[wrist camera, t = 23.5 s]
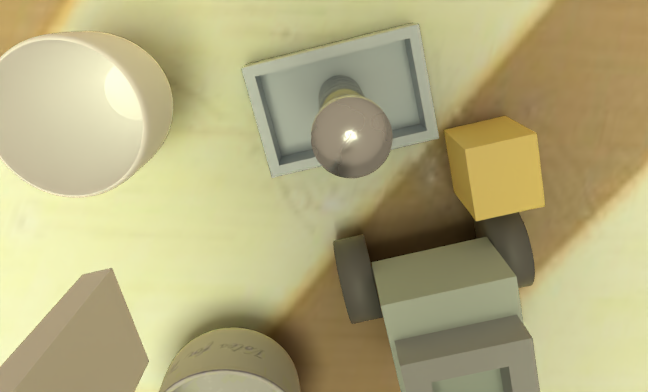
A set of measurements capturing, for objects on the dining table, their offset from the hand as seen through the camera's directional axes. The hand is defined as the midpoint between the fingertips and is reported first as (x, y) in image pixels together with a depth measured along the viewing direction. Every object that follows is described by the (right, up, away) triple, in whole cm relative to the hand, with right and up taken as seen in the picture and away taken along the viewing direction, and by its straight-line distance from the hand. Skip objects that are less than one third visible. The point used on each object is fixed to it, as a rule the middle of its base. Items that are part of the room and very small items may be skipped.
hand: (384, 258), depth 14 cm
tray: (0, +8, +25) cm, 27 cm away
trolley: (+7, -6, +30) cm, 31 cm away
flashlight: (0, +8, +25) cm, 26 cm away
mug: (-16, +9, +25) cm, 31 cm away
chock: (+10, +4, +27) cm, 29 cm away
